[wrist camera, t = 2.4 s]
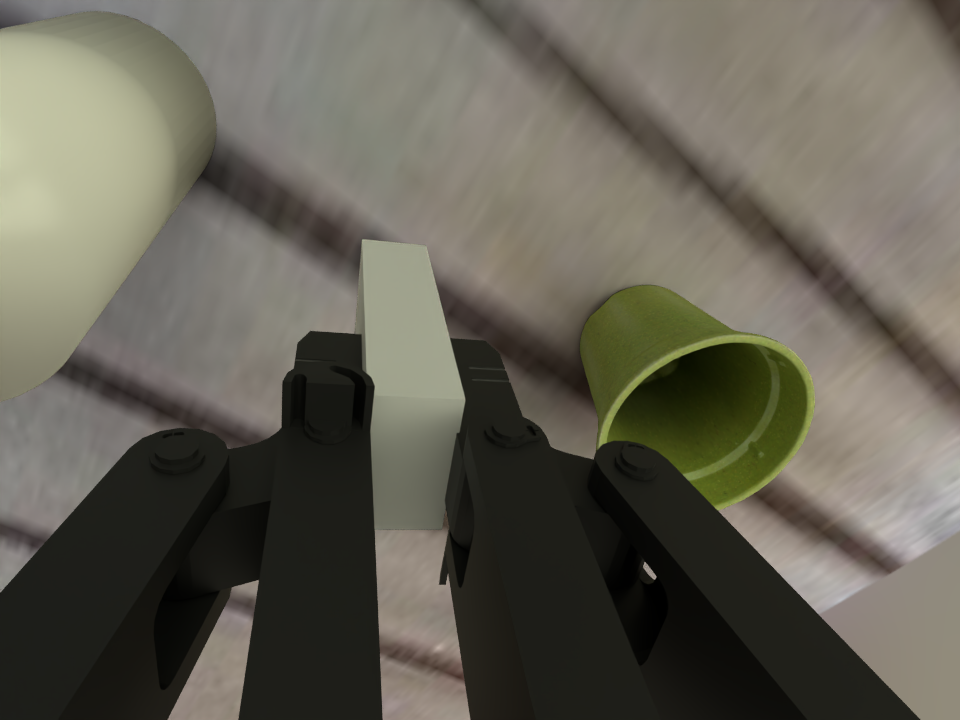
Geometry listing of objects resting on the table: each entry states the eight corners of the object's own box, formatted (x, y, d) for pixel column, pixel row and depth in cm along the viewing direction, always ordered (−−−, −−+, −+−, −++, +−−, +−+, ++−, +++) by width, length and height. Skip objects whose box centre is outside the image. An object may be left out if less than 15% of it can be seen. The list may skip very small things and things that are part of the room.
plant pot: (547, 262, 32) (602, 354, 25) (732, 241, 33) (839, 323, 26) (547, 418, 37) (594, 533, 30) (709, 395, 38) (792, 501, 31)
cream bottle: (213, 28, 25) (-93, 184, 8) (219, 209, 28) (14, 585, 11) (2, -5, 23) (-925, 99, 6) (35, 190, 27) (-514, 591, 10)
